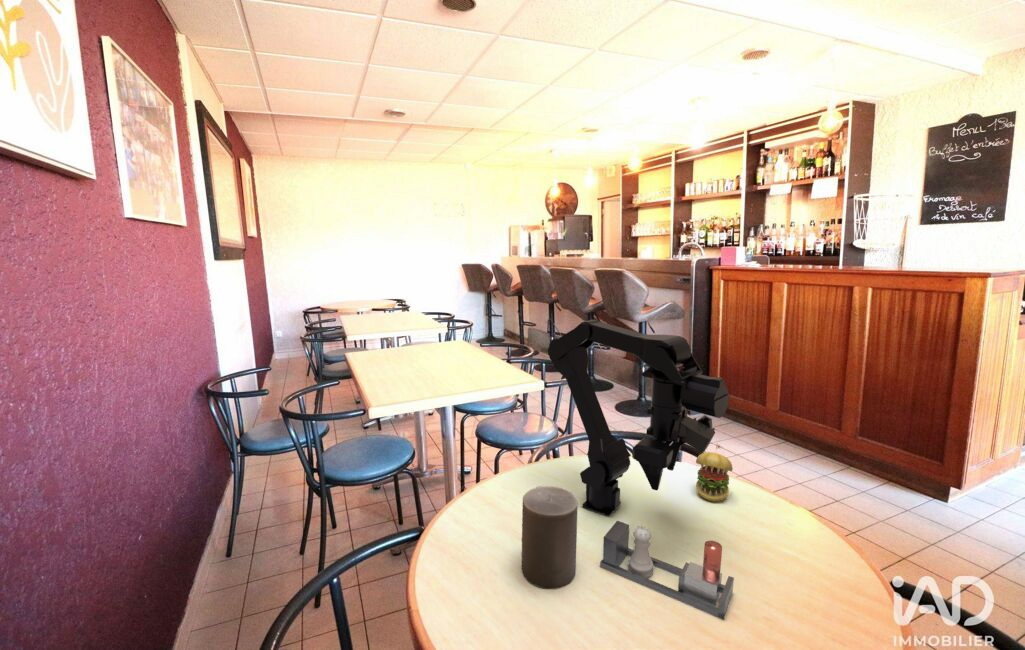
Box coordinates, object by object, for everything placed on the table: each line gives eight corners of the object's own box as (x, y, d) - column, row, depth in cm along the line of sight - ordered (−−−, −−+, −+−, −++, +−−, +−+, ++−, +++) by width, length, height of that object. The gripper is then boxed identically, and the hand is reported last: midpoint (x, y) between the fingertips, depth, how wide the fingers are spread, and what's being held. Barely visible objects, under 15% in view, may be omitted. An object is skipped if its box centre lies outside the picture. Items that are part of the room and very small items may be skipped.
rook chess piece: (624, 562, 86) (625, 523, 84) (648, 561, 86) (650, 521, 84) (632, 580, 81) (634, 538, 80) (657, 578, 82) (659, 537, 80)
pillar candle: (539, 597, 78) (540, 514, 75) (512, 561, 86) (512, 486, 83) (587, 578, 82) (590, 499, 79) (556, 545, 91) (558, 474, 88)
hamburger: (690, 498, 106) (694, 448, 104) (697, 484, 112) (700, 437, 110) (727, 508, 102) (732, 457, 100) (732, 493, 108) (736, 444, 106)
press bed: (600, 567, 85) (600, 537, 83) (614, 547, 90) (615, 519, 89) (723, 619, 73) (726, 585, 72) (732, 593, 78) (735, 561, 77)
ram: (677, 593, 78) (681, 541, 76) (684, 579, 81) (688, 529, 79) (714, 609, 75) (719, 555, 73) (720, 593, 78) (724, 541, 76)
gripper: (698, 429, 76) (692, 516, 79) (723, 397, 91) (718, 471, 94) (632, 414, 83) (629, 496, 86) (666, 387, 98) (662, 457, 100)
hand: (662, 479), depth 91 cm, fingers open, 9 cm apart
